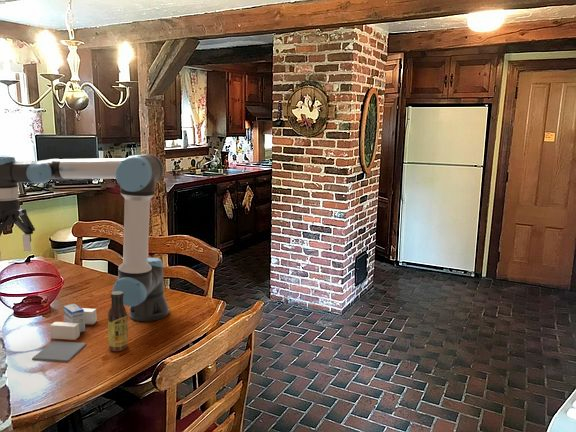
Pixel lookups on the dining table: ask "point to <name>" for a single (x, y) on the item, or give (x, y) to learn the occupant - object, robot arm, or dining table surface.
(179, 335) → the dining table surface
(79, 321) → the medicine box
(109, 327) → the sauce bottle
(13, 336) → the dining table surface
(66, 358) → the rubber mat
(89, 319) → the slot stand
